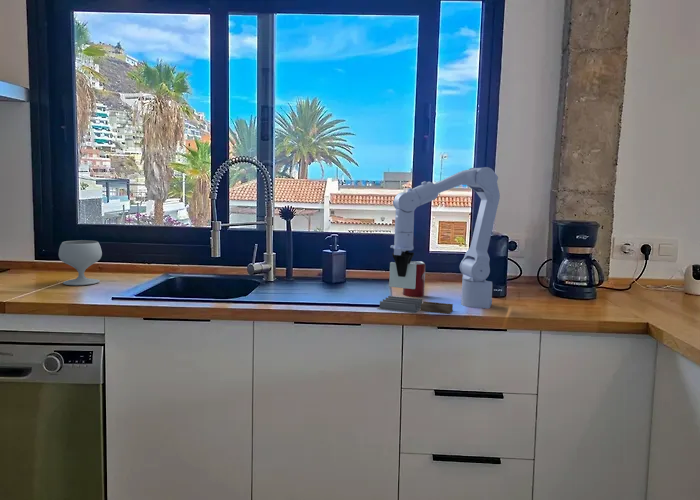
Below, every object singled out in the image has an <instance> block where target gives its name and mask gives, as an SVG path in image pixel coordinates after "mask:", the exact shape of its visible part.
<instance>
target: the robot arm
mask: <svg viewBox="0 0 700 500" xmlns="http://www.w3.org/2000/svg"><path fill="white" fill-rule="evenodd" d="M498 180H499V176H498V175H497V174H496V172H495V171H494V169H493V168H490V166H489V167H488V166H484V167H471V168H468V169H465V170H461V171H458V172H456V173H454V174H452V175H450V176H448V177H446V178H444V179H442V180H439V181H438V182H435V183H434V182H431V181H426V180H424V181H422V182H420V183H421V184H420V185H417V186H416V187H413V188H412V187H409V188H407V189H406V190H407V191H404V192H403V191H401V192H399V193H397V194H396V195H395V196H394V199H393V200H392V205H393V207H394V208H395V217H394V239H393V240H394V241H393V242H394V244H392V245H390V249H393V252H392V258H393V260H394V262H395V263H396V267H397V273H398V276H400V277H405V276H406V272H407V266H408V264H410V262H411V261H412V259H413V258H414V255H415V252H412V251H413V250H414V249H415V248H414V247H415V246H414V231H415V230H414V227H415V210H416V209H417V208H418V207H420V206H423V205H425V204H427V203H430V202H432V201H435V200H437V198H438V196H439V194H440V193H443V192H446V191H448V190H451V189H454V188H456V187H459V186H461V185H465V186H467V187H469V188H470V189H472V191H474V192H476V193H475V194H477V195H478V198H480V203H479V208H478V212H477V215H476V216H477V217H476V220H475V225H474V229H473V233H472V238H471V242H470V246H469V248H468V249H467V250H466V252H465V253H464V256H463V258H462V260H461V262H460V263H459V271H460V273H461V274H462V278H461V280H462V282H461V283H462V284H461V296H460V297H461V300H460V301H461V302H460V303H461V304H460V305H462V306H463V307H467V308H475V309H476V308H479V309H488V310H489V309H490V308H491V306H492V303H493V281H490V280H486V279H488V277H489V275H490V273H491V268H490V267H491V266H490V260H491V259H490V254H489V253H488V250H489V246H490V241H491V238H492V232H493V228H494V224H495V223H494V222H495V220H496V219H495V218H496V216H497V212H498V207H499V203H500V199H501V198H500V197H501V196H500V190H499V186H498V185H499V184H498Z"/></svg>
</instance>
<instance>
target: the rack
mask: <svg viewBox="0 0 700 500" xmlns="http://www.w3.org/2000/svg"><path fill="white" fill-rule="evenodd" d="M421 303H423V298H417V297H407V296H404V297H403V296H397V295H396V296H395V295H394V296H393V295H389V296H388V297H385V299H382V301H381V300H380V301H379V307H377V308H376V309H377V310H380V311H390V312H398V313H399V312H401V313H408V314H409V313H410V314H416V313H418V311H420V310H421Z"/></svg>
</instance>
